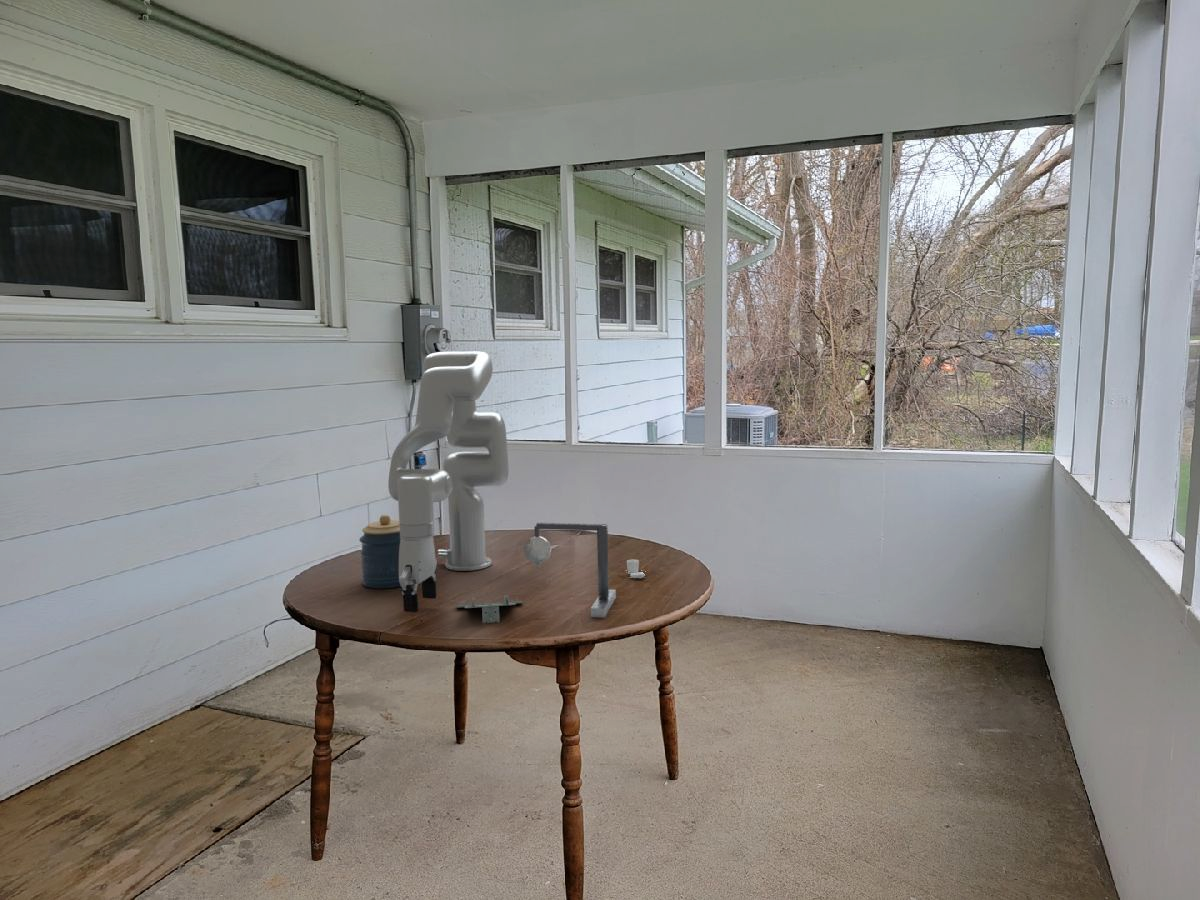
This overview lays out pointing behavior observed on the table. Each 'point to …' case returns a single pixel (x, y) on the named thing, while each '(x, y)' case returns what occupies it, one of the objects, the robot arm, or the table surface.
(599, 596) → the metal desk lamp
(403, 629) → the table surface
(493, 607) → the metal bracket
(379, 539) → the canister
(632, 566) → the white ring with cylinder
